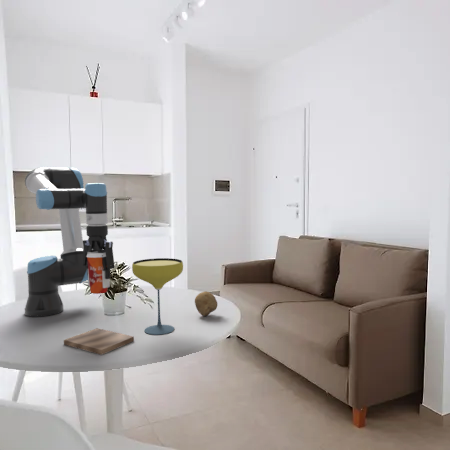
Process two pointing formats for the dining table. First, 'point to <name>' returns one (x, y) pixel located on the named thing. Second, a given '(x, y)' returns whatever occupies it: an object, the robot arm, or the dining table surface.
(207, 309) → the natural sponge
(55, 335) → the dining table surface
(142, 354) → the dining table surface
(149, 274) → the cocktail glass
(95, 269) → the coffee cup
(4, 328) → the dining table surface
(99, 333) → the walnut board
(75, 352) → the dining table surface
